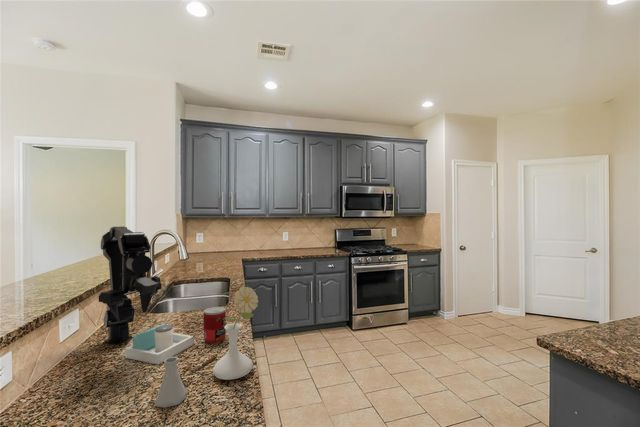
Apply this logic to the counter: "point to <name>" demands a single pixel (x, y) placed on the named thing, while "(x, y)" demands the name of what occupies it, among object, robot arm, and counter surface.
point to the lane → (151, 356)
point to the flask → (171, 385)
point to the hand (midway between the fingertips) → (132, 316)
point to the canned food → (214, 324)
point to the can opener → (205, 363)
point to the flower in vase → (235, 361)
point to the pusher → (145, 339)
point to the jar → (163, 337)
